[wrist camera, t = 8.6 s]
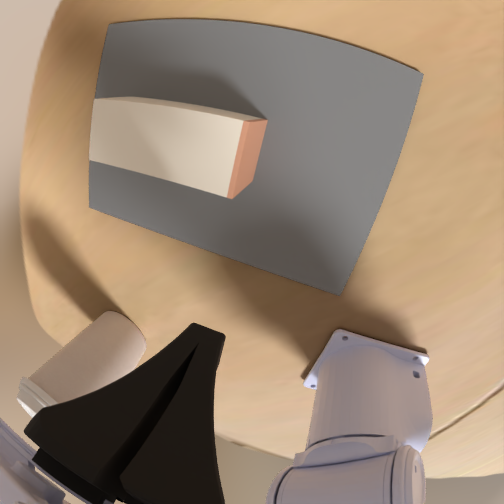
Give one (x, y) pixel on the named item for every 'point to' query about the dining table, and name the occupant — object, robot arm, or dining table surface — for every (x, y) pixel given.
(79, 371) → the coffee cup
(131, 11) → the dining table surface
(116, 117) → the block
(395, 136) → the mat
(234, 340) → the dining table surface
